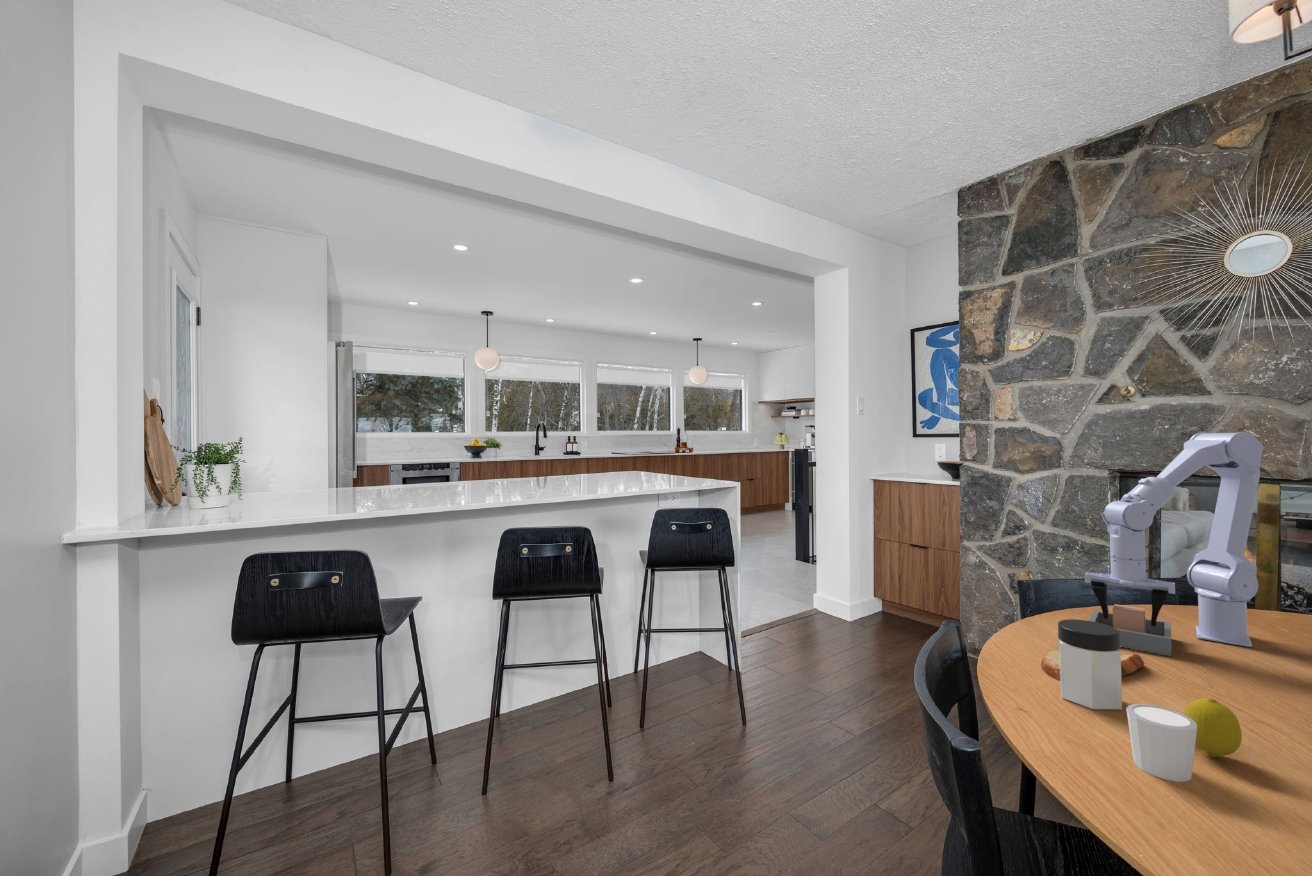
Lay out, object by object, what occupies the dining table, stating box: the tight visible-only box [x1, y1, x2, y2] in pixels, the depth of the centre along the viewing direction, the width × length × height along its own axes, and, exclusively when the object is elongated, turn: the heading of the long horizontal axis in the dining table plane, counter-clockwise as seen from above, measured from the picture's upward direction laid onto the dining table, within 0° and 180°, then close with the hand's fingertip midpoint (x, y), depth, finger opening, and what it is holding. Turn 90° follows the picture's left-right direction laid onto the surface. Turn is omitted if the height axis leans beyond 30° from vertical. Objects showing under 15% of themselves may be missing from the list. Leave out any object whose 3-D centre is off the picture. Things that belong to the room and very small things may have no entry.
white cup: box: [1125, 703, 1197, 783], centre depth 72 cm, size 7×7×7 cm
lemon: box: [1184, 697, 1243, 758], centre depth 74 cm, size 6×6×8 cm
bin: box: [1088, 610, 1173, 657], centre depth 117 cm, size 13×13×4 cm
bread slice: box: [1040, 645, 1145, 682], centre depth 103 cm, size 18×18×4 cm
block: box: [1112, 603, 1146, 633], centre depth 117 cm, size 5×5×6 cm
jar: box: [1057, 618, 1123, 711], centre depth 91 cm, size 9×8×12 cm
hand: (1129, 621), depth 117 cm, fingers open, 7 cm apart
